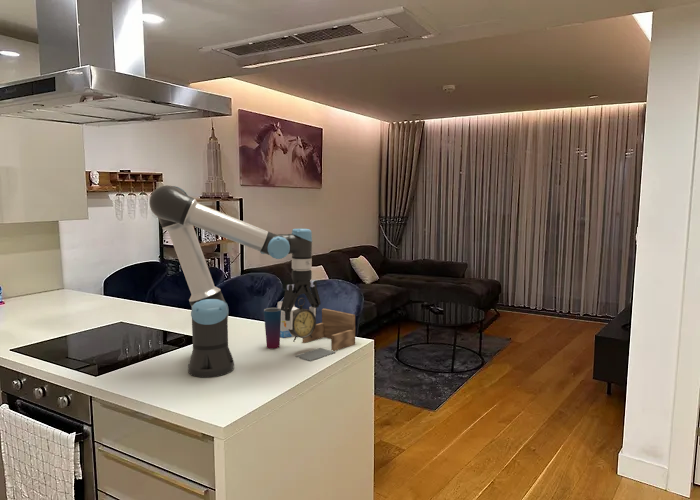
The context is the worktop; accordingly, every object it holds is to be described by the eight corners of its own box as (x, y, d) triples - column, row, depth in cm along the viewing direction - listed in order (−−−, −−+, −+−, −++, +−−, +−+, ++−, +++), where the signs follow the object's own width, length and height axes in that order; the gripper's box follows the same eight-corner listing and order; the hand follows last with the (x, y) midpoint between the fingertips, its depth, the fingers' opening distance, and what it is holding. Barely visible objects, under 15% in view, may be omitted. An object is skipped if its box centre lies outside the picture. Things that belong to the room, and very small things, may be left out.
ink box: (282, 338, 206) (281, 303, 205) (277, 335, 210) (276, 301, 209) (300, 335, 211) (299, 301, 209) (295, 332, 215) (294, 299, 213)
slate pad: (310, 361, 176) (310, 360, 176) (295, 356, 182) (295, 355, 181) (335, 353, 186) (335, 352, 186) (320, 348, 191) (320, 347, 191)
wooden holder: (334, 351, 188) (333, 320, 187) (302, 342, 200) (302, 313, 199) (355, 344, 197) (355, 314, 196) (324, 335, 209) (323, 308, 208)
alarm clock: (293, 343, 182) (294, 300, 181) (285, 340, 186) (285, 298, 184) (316, 338, 190) (317, 297, 188) (307, 335, 193) (308, 295, 192)
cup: (285, 346, 195) (284, 309, 193) (273, 350, 189) (272, 312, 188) (272, 343, 199) (272, 307, 197) (260, 347, 193) (260, 310, 192)
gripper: (284, 273, 174) (283, 333, 176) (330, 267, 191) (329, 322, 193) (270, 271, 179) (270, 329, 181) (317, 265, 196) (316, 319, 198)
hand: (301, 326), depth 187 cm, fingers closed on alarm clock, 11 cm apart
